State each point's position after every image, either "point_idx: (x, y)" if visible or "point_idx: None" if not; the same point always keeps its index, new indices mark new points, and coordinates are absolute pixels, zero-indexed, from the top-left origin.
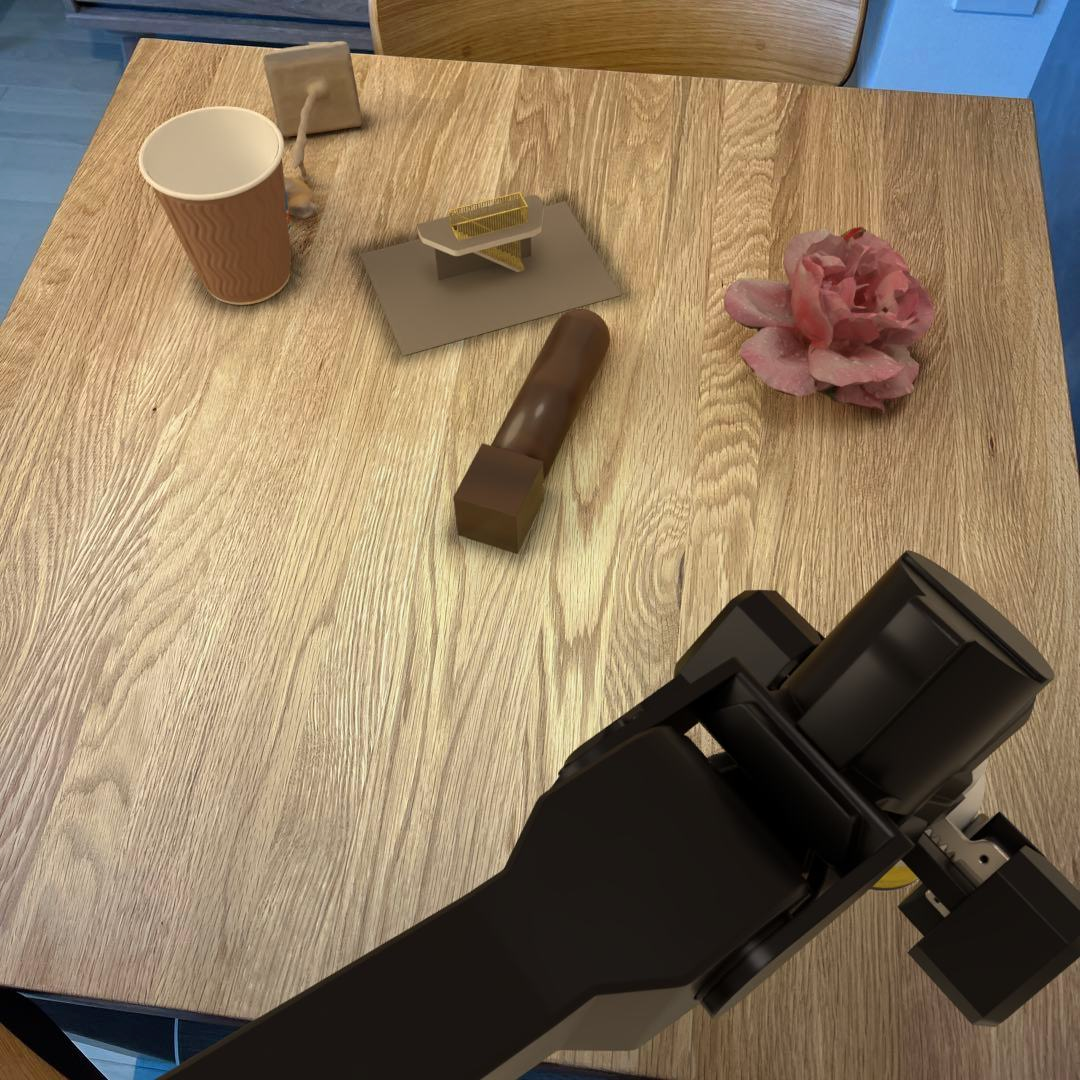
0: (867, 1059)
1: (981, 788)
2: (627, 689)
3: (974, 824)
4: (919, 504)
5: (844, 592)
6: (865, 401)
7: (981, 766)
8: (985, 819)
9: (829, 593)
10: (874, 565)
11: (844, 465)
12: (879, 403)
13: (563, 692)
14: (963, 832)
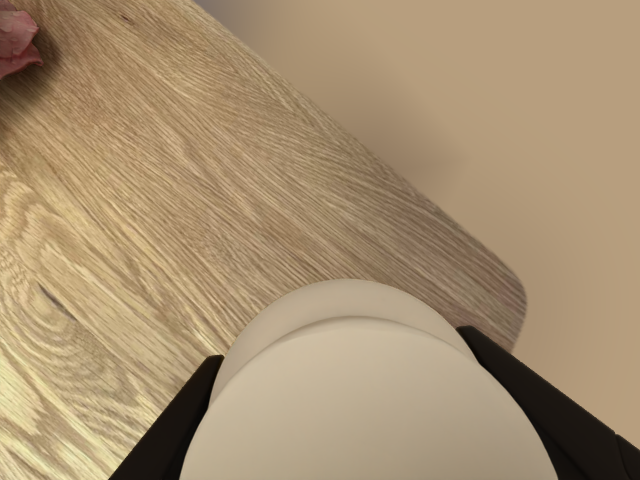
0: None
1: (456, 341)
2: (106, 411)
3: (567, 470)
4: (130, 93)
5: (152, 190)
6: (15, 65)
7: (524, 438)
8: (507, 373)
9: (145, 200)
10: (148, 155)
11: (66, 118)
12: (27, 57)
13: (72, 470)
14: None
